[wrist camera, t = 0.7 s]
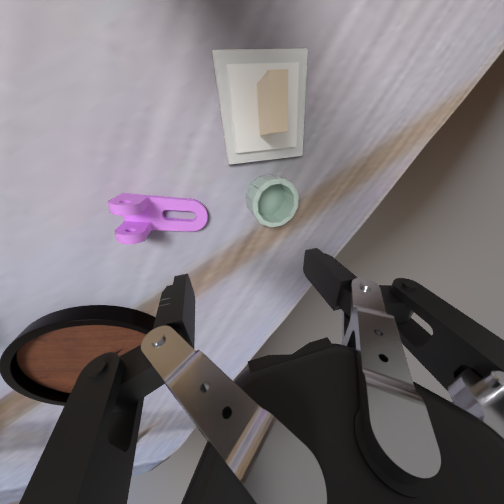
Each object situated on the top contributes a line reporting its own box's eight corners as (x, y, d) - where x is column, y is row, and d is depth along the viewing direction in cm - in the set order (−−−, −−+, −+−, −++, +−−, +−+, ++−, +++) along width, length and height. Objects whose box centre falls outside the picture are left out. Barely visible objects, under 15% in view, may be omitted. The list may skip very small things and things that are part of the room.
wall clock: (-16, 311, 28) (189, 325, 40) (8, 294, 32) (190, 312, 44) (9, 413, 40) (162, 400, 52) (24, 392, 43) (164, 385, 55)
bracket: (129, 226, 31) (112, 243, 25) (123, 192, 28) (102, 204, 22) (206, 229, 34) (208, 245, 29) (207, 199, 32) (209, 210, 26)
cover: (226, 65, 23) (232, 44, 19) (297, 64, 25) (319, 43, 20) (236, 153, 28) (243, 153, 24) (294, 146, 30) (312, 145, 25)
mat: (212, 53, 23) (212, 49, 22) (304, 51, 25) (307, 48, 24) (228, 164, 30) (228, 164, 29) (299, 155, 32) (302, 155, 31)
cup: (244, 178, 31) (251, 182, 27) (286, 172, 33) (299, 175, 29) (248, 221, 36) (255, 230, 31) (286, 214, 37) (297, 222, 33)
